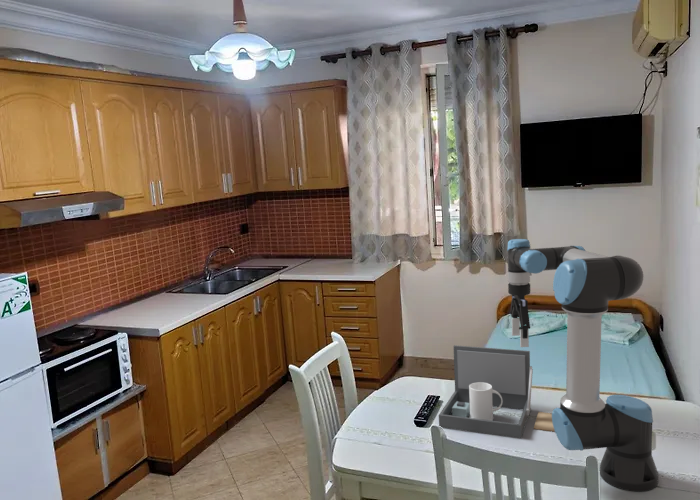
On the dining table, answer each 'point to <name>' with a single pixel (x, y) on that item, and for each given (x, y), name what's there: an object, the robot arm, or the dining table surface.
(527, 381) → the case
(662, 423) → the dining table surface
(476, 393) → the mug
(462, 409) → the block
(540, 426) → the mat
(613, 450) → the robot arm
